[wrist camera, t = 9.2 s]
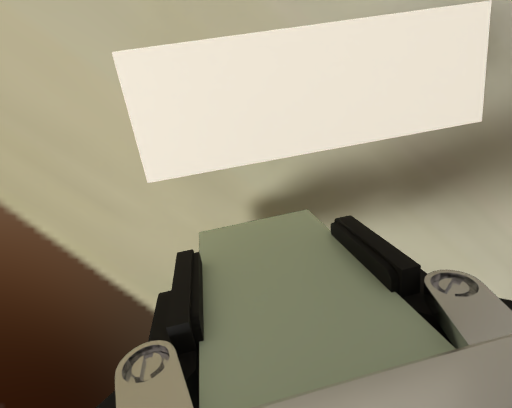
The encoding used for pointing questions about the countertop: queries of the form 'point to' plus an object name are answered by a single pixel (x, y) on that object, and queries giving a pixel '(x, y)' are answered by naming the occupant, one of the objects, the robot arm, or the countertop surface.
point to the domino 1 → (304, 88)
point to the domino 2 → (295, 314)
